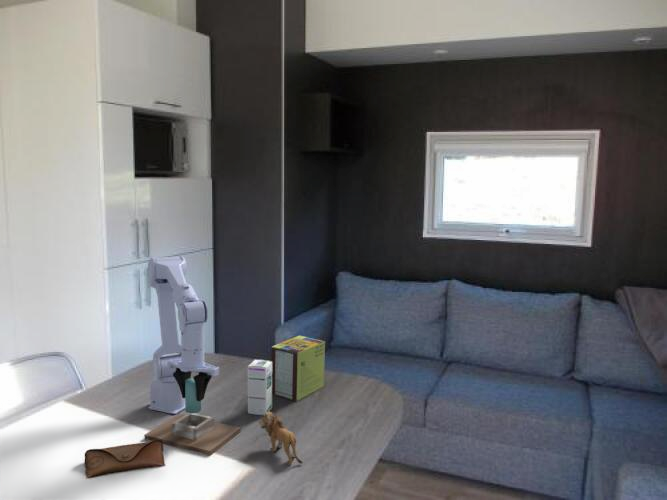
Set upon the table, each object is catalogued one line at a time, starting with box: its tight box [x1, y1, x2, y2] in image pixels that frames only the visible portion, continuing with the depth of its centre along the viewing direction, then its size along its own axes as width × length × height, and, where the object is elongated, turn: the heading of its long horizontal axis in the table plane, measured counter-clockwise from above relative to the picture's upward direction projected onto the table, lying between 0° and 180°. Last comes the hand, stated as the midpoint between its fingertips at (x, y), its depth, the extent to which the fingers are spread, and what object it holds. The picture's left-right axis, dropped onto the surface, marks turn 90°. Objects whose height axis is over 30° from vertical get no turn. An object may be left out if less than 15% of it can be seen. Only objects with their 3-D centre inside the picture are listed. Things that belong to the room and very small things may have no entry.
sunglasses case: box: [84, 440, 166, 480], centre depth 133 cm, size 18×7×7 cm, turn 113°
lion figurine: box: [258, 411, 303, 466], centre depth 139 cm, size 15×5×9 cm, turn 45°
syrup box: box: [247, 359, 273, 416], centre depth 163 cm, size 6×6×14 cm
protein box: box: [270, 335, 326, 402], centre depth 179 cm, size 10×15×16 cm
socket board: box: [143, 413, 242, 456], centre depth 148 cm, size 20×14×4 cm
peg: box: [184, 377, 202, 414], centre depth 146 cm, size 4×4×8 cm
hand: (193, 398), depth 146 cm, fingers closed on peg, 4 cm apart
